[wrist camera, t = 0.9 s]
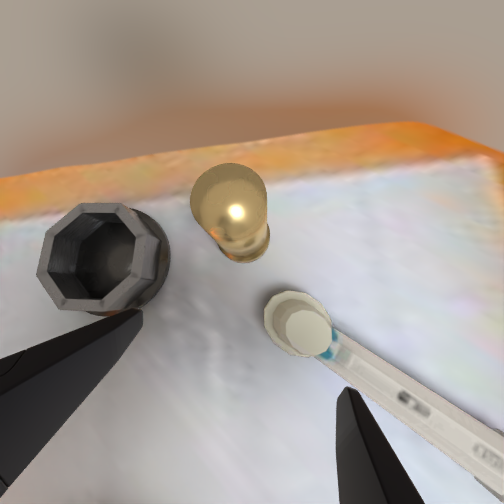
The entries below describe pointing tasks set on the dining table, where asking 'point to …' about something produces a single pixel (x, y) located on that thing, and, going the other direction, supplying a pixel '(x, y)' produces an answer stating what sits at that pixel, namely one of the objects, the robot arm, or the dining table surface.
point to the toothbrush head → (387, 387)
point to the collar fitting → (103, 259)
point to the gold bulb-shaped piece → (233, 210)
